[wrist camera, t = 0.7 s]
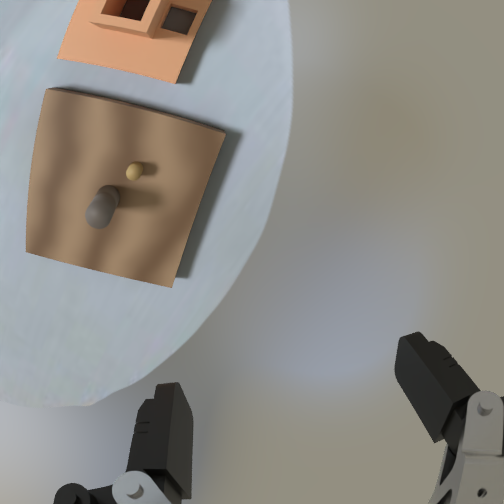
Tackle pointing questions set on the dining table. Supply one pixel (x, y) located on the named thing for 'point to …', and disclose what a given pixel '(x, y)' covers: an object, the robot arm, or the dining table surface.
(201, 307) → the dining table surface
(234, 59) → the dining table surface
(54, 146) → the post base
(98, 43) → the flange plate
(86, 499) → the robot arm
